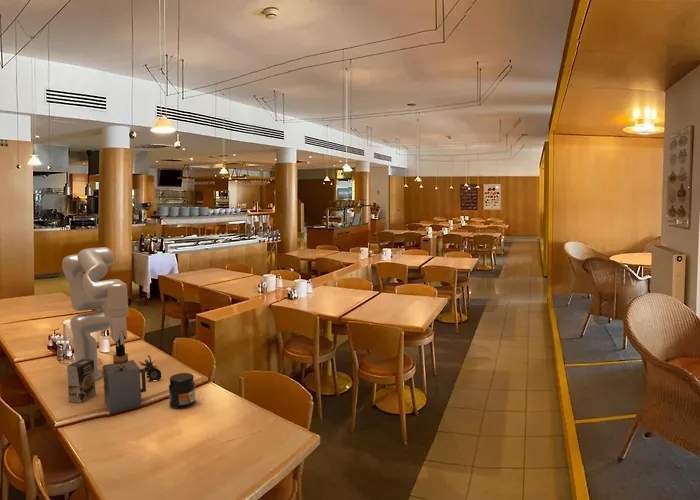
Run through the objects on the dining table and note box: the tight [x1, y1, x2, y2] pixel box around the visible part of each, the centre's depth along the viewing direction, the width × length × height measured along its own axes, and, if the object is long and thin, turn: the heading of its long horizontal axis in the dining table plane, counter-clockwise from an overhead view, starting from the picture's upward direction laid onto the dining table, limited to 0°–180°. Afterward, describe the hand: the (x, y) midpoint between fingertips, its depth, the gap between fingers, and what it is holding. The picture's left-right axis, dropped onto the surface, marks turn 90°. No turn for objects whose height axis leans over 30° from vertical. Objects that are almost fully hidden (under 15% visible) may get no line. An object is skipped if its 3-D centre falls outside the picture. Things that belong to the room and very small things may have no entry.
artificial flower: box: [138, 355, 162, 383], centre depth 244 cm, size 9×22×10 cm, turn 23°
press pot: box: [102, 359, 147, 415], centre depth 209 cm, size 12×15×17 cm
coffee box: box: [66, 359, 96, 404], centre depth 215 cm, size 9×6×16 cm
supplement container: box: [168, 372, 196, 409], centre depth 210 cm, size 10×10×12 cm
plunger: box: [112, 352, 129, 368], centre depth 208 cm, size 10×10×18 cm
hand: (120, 355), depth 207 cm, fingers closed
